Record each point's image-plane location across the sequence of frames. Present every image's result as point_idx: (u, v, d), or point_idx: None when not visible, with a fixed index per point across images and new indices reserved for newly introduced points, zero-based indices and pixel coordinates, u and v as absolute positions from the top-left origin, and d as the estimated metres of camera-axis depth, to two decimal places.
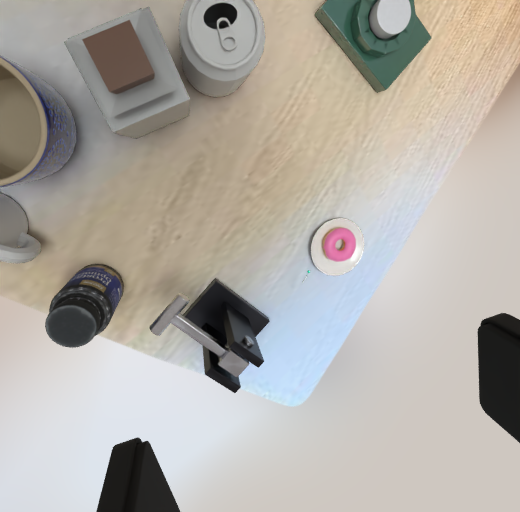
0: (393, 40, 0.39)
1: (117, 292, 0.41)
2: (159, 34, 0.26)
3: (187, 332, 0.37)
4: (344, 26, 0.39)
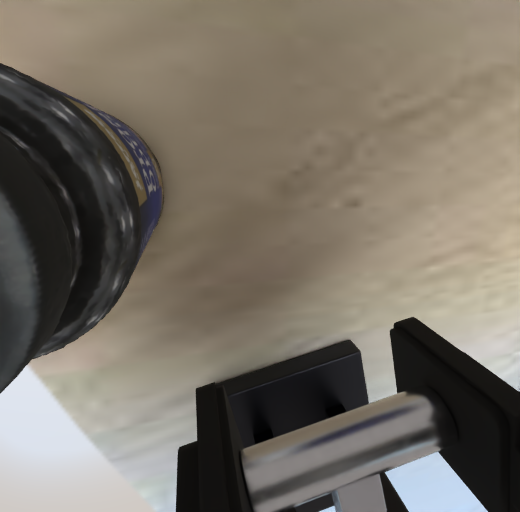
0: None
1: (149, 237, 0.11)
2: None
3: None
4: None
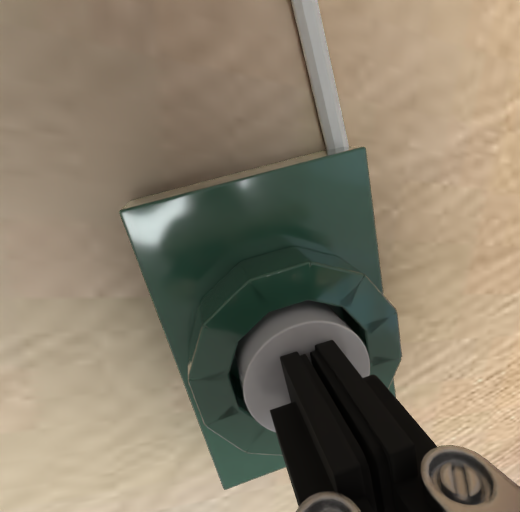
0: None
1: None
2: None
3: None
4: (176, 300, 0.11)
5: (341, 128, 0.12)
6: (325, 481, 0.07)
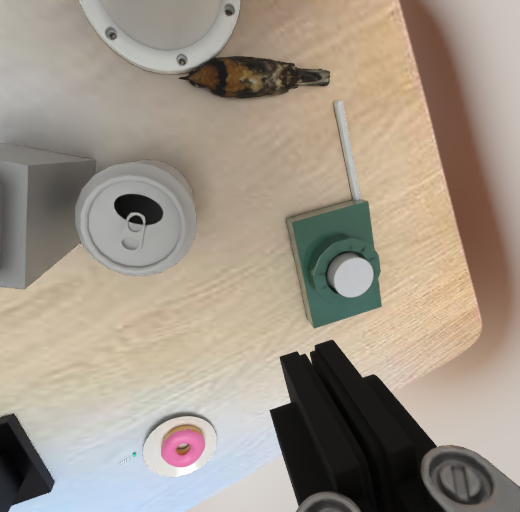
0: (342, 296, 0.34)
1: None
2: (24, 201, 0.18)
3: None
4: (305, 251, 0.34)
5: (358, 192, 0.35)
6: (325, 481, 0.07)
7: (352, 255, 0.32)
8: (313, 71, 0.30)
